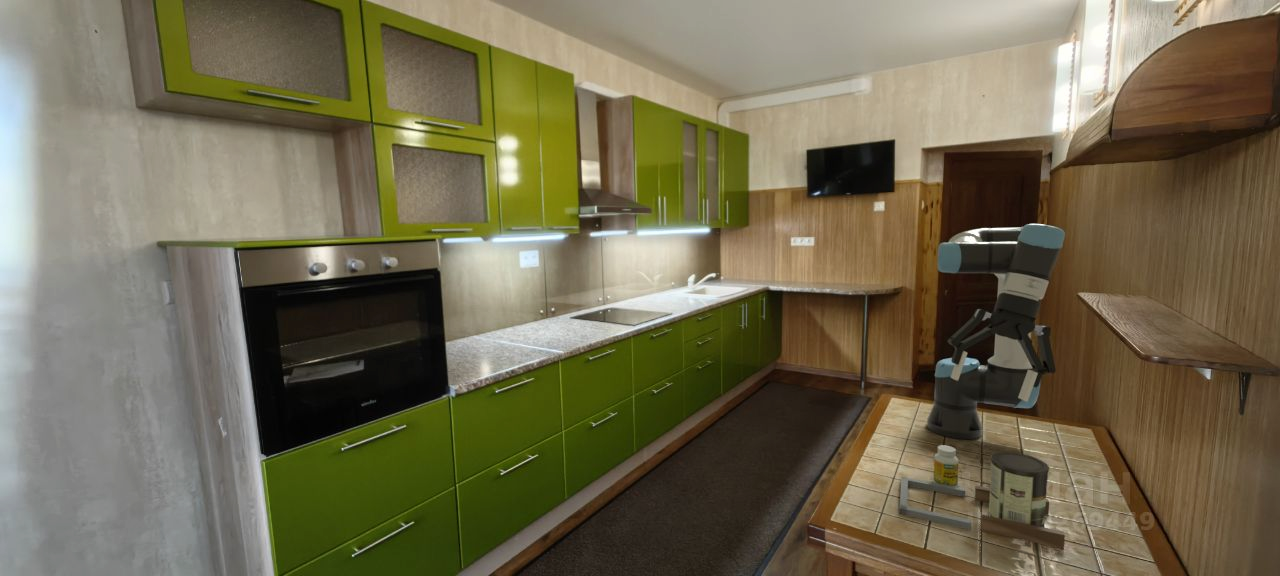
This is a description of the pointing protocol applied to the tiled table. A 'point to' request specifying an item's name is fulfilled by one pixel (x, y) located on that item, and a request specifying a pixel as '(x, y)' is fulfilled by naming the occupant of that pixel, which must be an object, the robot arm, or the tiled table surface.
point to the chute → (1018, 525)
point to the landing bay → (928, 514)
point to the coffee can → (1018, 488)
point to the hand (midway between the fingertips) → (987, 389)
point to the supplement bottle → (946, 466)
